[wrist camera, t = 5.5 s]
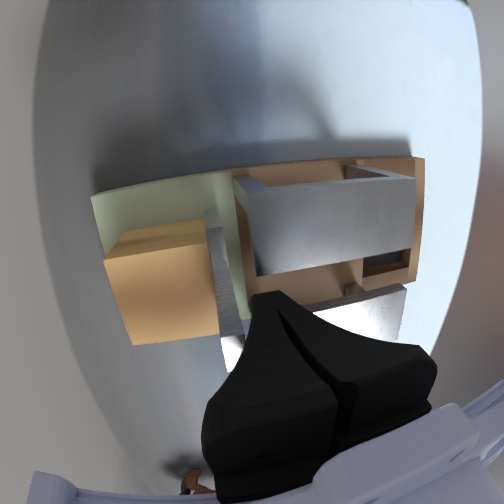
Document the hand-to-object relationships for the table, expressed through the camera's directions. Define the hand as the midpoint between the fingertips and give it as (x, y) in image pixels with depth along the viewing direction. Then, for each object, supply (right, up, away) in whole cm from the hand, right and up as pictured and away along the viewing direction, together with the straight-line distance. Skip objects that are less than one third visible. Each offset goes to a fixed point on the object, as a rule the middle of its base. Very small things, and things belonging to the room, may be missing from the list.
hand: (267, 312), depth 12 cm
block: (-6, +2, +6) cm, 8 cm away
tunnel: (+3, +3, +7) cm, 8 cm away
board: (+1, +3, +8) cm, 9 cm away
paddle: (-3, +2, +6) cm, 7 cm away
